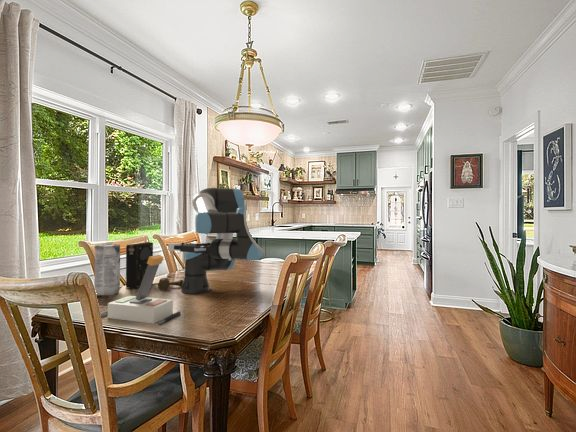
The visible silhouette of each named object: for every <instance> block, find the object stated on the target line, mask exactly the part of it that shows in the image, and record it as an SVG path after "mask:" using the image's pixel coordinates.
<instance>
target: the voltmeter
mask: <svg viewBox="0 0 576 432" xmlns="http://www.w3.org/2000/svg"><path fill="white" fill-rule="evenodd" d="M125 249H126V250H125V254H126V255H125V257H126V258H125V288H127V289H135V290H139V288H140V285H141V283H142V280H143V277H144V274H145V272H146V269H147V266H148V264H147V262H148V259H149V257H150V256H154V243H153V242H151V241H150V242H149V241H143V242H137V243H131V244H126V246H125Z"/></svg>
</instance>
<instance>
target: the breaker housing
mask: <svg viewBox="0 0 576 432" xmlns="http://www.w3.org/2000/svg"><path fill="white" fill-rule="evenodd" d="M136 296H137V295H136ZM136 296H135V295H128V296H125V297H122V298H119V299H115V300H113V301H110V302H107V311H108V315H107V319H114V320H123V321H131V322H136V323H137V322H139V323H148V324H155V323H158V321H160V320H162V319H164V318H166V317H168V316H170V315H172V314H174V310H173V309H174V307H173V305H174V300H173V299H166V298H158V297H157V298H156V297H148V296H147V298H144V299H142V300H139V301H138V300H137V299H136Z"/></svg>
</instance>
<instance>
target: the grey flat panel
mask: <svg viewBox="0 0 576 432" xmlns="http://www.w3.org/2000/svg"><path fill="white" fill-rule="evenodd" d="M100 314H101V318H104V317H106V316H108V310H107V311H106V312H103V313H102V312H101V313H100ZM180 315H181V311H179V310H178V311H176V312H173V314H172V315H170V316H168V317H166V318H164V319H162V320H160V321H158V322H157V325H159V326H160V325H162V324H164V323H166V322H169V321H170V320H172V319H174V318H176V317H178V316H180Z"/></svg>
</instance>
